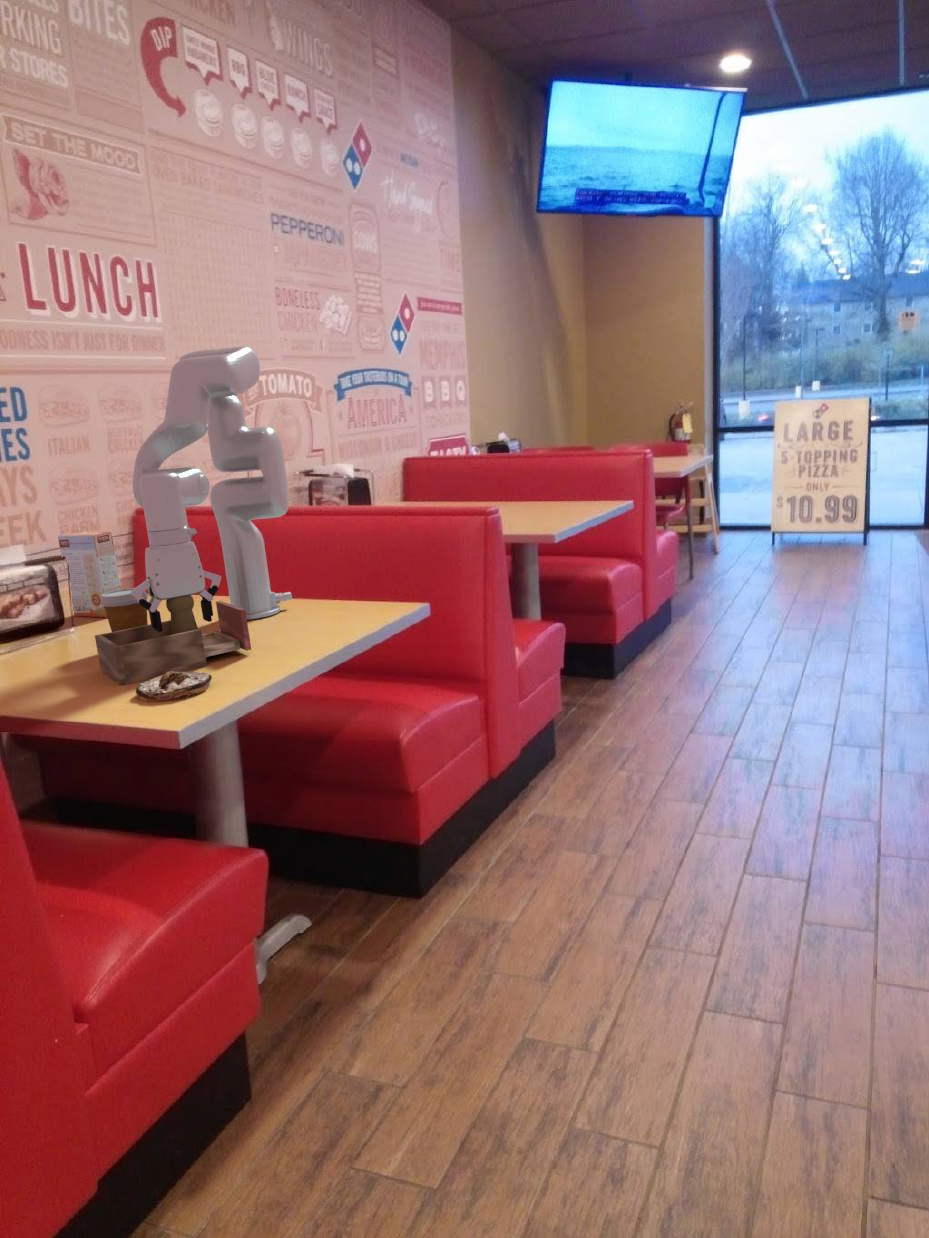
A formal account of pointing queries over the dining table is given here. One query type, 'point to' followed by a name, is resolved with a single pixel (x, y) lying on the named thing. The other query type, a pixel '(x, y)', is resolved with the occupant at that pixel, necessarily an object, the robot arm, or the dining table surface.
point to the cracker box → (90, 570)
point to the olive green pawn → (181, 614)
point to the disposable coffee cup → (124, 609)
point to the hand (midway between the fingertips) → (183, 625)
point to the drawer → (228, 631)
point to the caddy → (148, 652)
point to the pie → (173, 686)
